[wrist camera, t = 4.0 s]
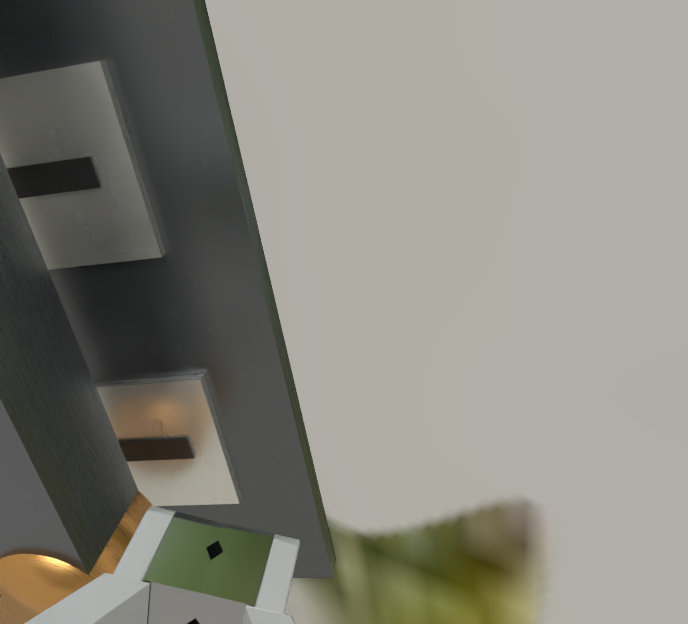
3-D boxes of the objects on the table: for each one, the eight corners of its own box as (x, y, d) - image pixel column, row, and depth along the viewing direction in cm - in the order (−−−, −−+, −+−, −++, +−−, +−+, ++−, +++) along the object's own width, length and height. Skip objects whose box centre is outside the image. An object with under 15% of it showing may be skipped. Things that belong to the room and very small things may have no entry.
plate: (166, -162, 13) (143, -176, 12) (335, 559, 23) (331, 587, 22) (-277, -53, 15) (-330, -56, 14) (50, 562, 25) (33, 587, 24)
